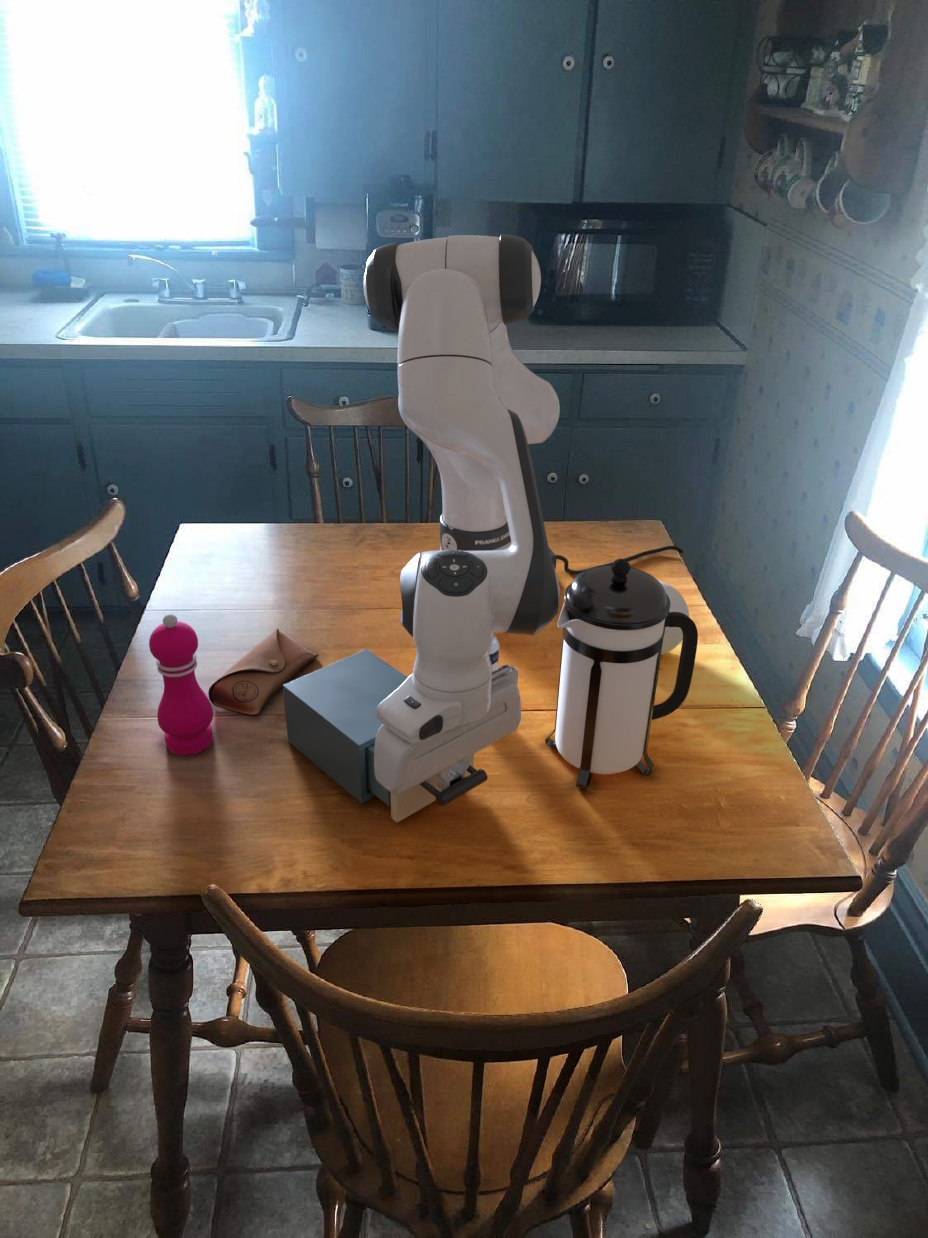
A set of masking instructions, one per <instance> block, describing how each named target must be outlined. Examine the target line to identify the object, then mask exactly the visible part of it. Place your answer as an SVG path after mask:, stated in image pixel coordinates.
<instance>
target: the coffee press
mask: <svg viewBox="0 0 928 1238" xmlns="http://www.w3.org/2000/svg"><path fill="white" fill-rule="evenodd" d="M612 562H613V564H612V565H604V564H602V565H603V566H599V565H596V566H597V567H595V566H592V567H593V568H591V567H589V568H590V569H588V568H586V569H587V570H585V571H583V572H581V573H579V574H576V576H575V577H574V578H573V579H572V581H571V582H570V583H569V584H568V585H567V587H566V588H565V589H564V594H563V605H562V608H561V610H560V613H559V615H558V619H557V624H556V627H557V629H562V641H561V653H560V662H559V663H560V665H559V675H558V688H557V699H556V710H555V711H556V712H555V721H554V722H555V723H554V729H553V730H552V731H550V732H549V733H548V734H547V737H546V738H545V740H544V742H545V745H546V746H547V747H549V748H555V747H556V748H557V751H558V753H559V754H560V755H561V757H562V758H563V760H565V761H566V762H567V763H569V764H570V765H571V766H573V767H575V768H577V769H579V771H578V774H577V775H578V776H577V779H576V783H575V787H576V788H579V789H581V790H586V791H587V790H588V788H589V786H590V782H591V779H592V775H593V774H598V775H614V774H615V775H616V774H619V773H623V772H626V771H628V770H630V769H632V768H634V767H636V769H637V770H639V772H640V773H641V774H642V775H644V776H649V775H650V776H651V774H652V772H653V770H654V767H655V764H654V762H653V760H652V759H651V757H650V755H649V751H648V749H649V740H650V733H651V728H652V721H654V720H658V719H661V718H663V717H666V716H668V715H670V714H672V713H674V712H675V711H676V710H678V709H679V708H680V707H681V706H682V705H683V703H684V701H685V700H686V698H687V697H688V694H689V691H690V687H691V684H692V678H693V674H694V667H695V663H696V662H695V661H696V656H697V649H698V642H699V632H698V627H697V625H696V622H695V621H694V620H693V619H692V618H690V616H689V617H688V616H687V615H685V614H684V613H680V612H669V611H670V599H669V597H668V595H667V594H666V592H665V589H664V587H663V586H662V584H661V583H660V582H659V581H660V580H658V579H657V578H656V577H655V576H654V575H652V574H650V573H648V572H646V571H644V570H642V569H638V568H636V567H631V565H630V563H629V561H626V560H625V559H624V558H616V559H615V560H614V561H612ZM665 627H679V628H681V630H682V633H683V640H682V641H681V648H680V654H679V661H678V667H677V672H676V677H675V684H674V688H673V690H672V692H671V694H670V696H669V697H667V698H666V699H665V700H664V701H662V702H661V703H657V704H655V701H656V695H657V687H658V681H659V674H660V667H661V661H662V656H663V655H662V647H663V641H664V635H665ZM554 734H555V735H554ZM553 735H554V736H555V737H554V738H555V740H553V739H551V737H553ZM642 759H643V760H644V762H645V764H646V766H647V767H646V766H645V765H644V764H643V762H641V760H642Z"/></svg>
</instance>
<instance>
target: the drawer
mask: <svg viewBox="0 0 928 1238" xmlns="http://www.w3.org/2000/svg"><path fill="white" fill-rule="evenodd" d="M374 748H375V743H374V744H372V745H370V746H368V747H366V748H365V762H366V785H367V789H368V790H370V791H371V792H372V793H373V794H374V795H376V796H375V797H377V798H378V799H379V800H380V801H381V802H383V803H384V804H386V806H387V807H390V818H391V819H392V820H394V822H396V823H399V822H402V821H403V820H404V819H406V818H408V817H409V816H411V815H413V814H415V813H417V812H418V811H420V810H422V809H423V808H425V807H426V806H429V805H430V804H432V803H433V802H435V801H436V803H437V805H439V806H440V807H444V806H446V805H448V804H449V803H451V802H453V801H455V800H457V799H458V798H460V797H461V796H463V795H465V794H466V793H468V792H469V791H470V792H471V790H473V789H475V788H477V787H478V786H480V785H481V784H483V783H486V781H487V780H488V773H487V772H486V771H485V770H484V769H483V768H479V769H477V768H475V765H474V764H475V753H474V754H473V759H472V761H471V763H470V765H469V767H468V769H467V771H466V772H465V778H463V779H462V780H460V781H458V782H457V783H455V784H453V785H451V786H450V787H448V788H446V789H444V790H443V791H441V790H440V789H439V788H438V786H437V776H436V775H435V776H433V777H431V778H429V779H427V780H426V781H424V782H422V783H420V784H418V785H417V786H415V787H413V788H411V789H409V790H407V791H406V792H404V793H402V794H400V795H395V794H393V793H392V792H390V791H388V790H387V789H386V788H384V787H383V786H382V785H381V784H380V783H379V782H378V781H377V779H376V777H375V772H374ZM450 768H451V767H450Z"/></svg>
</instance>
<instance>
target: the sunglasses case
mask: <svg viewBox="0 0 928 1238" xmlns="http://www.w3.org/2000/svg"><path fill="white" fill-rule="evenodd" d="M317 657H319V653H317V652H312V651H310V650H309V649H308V648H306V647H305V646H303V645H301V644H300V643H299V642H297V641H295V640H294V639H292V638H291V637H289V636H288V635H287V634H285V633H283V632H282V631H280V629H279V628H276V629H275V630H274V631H273V632H271V634H269V635H268V636H267V637H265V638H264V639H263V640H262V641H261V642H259V643H258V644H257V645H255V646H254V647H253V648H252V649H251V650H249V651H248V652H247V653H246V654H245V655H243V656H242V657H241V658H240V659H239V660H238V661H236V663H234V665H232V666H231V667H230V668H229V669H227V671H225V672H224V673H223V675H221V676H220V677H219V678H218V679H216V680H215V681H214V682H213V683H212V684H211V685H210V686H209V688H208V691H207V692H208V693H207V696H208V699H209V700H210V702H211V705H212V706H214V707H218V708H220V709H224V710H225V711H229V712H232V713H237V714H242V715H247V716H258V715H259V714H260V713H261V712H262V711H263V710H264V708H265V707H266V706H267V704H268V703H269V702H270V701H271V700H272V699H273V698H274V697H275V696H276V695H277V694H278V693H279V692H280V691H281V690H283V685H284V684H287V683H289V682H291V681H293V680H294V678H296V677H297V676H298V674H300V673H301V672H302V671H303V670H304V669H305V668H306V667H308V666H309V665H310V664H311V663H313V661H315V659H316V658H317Z"/></svg>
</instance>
